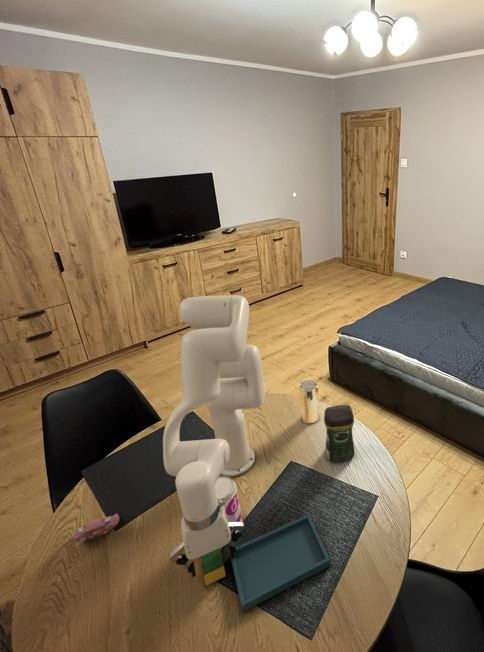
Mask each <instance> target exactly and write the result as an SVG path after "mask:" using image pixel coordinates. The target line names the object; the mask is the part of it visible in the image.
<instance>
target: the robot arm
mask: <svg viewBox="0 0 484 652" xmlns="http://www.w3.org/2000/svg"><path fill="white" fill-rule="evenodd" d="M249 305H250V304H249V301H248V300H247V298H246V297H245V296H243V295H240V294H239V295H238V294H229V295H227V294H226V295H203V296H191V297H187V298H185V299H182V301H181V302H180V304H179V314H180V318H181V319H182V321H183V322H184V323H185V324H186V325H187V326H188V327H191V328H192V329H193V330H189V331H188V332H186V333H185V334H184V335H183V336H182V337H181V340H180V363H181V389H182V391H181V392H182V393H181V394H182V395H181V399H180V401H179V402H178V403H177V405H176V406H175V408H174V409H173V410H172V412H171V413H170V415H169V417H168V418H167V421H166V423H165V426H164V429H163V434H162V435H163V436H162V457H163V467H164V470H165V472H166V473H167V474H168V475H169V476H172V477H175V481H174V483H175V490H176V492H177V497H178V500H179V504H180V508H181V512H182V516H183V517H182V518H181V523H180V526H181V528H180V529H181V536H182V542H180V543H179V544H178V545H176V547H175V548H173V550H172V551H170V553H168V556H169V558H168V559H169V561H170V562H173V563H176V565H180V566H184V568H186V569H187V573H188V574H190V573H191V576H192V578H195V577H196V576H197V574H196V566H195V561H194V560H196V559H198V558H201V556H203V555H205V554H207V553H210V552H212V551H214V550H216V549H218V548H220V549H221V548H223V547H225V546H228V552H229V551H230V553H229V556H230V555H231V558H230V560H231V559H233V558H234V553H233V552H235V551H236V545H237V541H238V540H239V539H240V537H242V533H243V531H244V530H245V527H246V526H245V523H244V521H242V522H228V519H227V515H226V512H225V510H224V507H223V505H225V504H226V503H225V499H220V500H219V499H218V498H217V493H216V488H215V483H216V481H217V480H218V478H219V477H221V475H222V476H224V477H236V476H240V475H243V474H244V473H246V472H247V471H249V469H251V468H252V466H253V465H254V463H255V459H256V456H255V451H254V450H253V448H252V447H250V446H249V442H248V441H249V440H248V433H247V427H246V418H245V415H244V412H243V411H242V410H251V409H253V410H254V409H257V408H260V407H262V405H263V404H264V402H265V399H266V398H265V397H266V388H265V381H264V380H265V378H264V370H263V361H262V354H261V352H260V350H259V347H257V346H256V345H254V344H252V343H251V344H250V343H247V338H248V329H249V321H250V306H249ZM204 405H206V407H207V410H208V412H209V414H210V418H211V422H212V427H213V433H214V438H208V439H207V438H206V439H196V440H184V441H183V440H180V429H181V426H182V425H181V424H182V423H183V420H184V419H185V417H186V416H187V415H188V414H189V413H191V412H192V411H194V410H195V409H197V408H199V407H201V406H204ZM230 530H235V531H234V532H233V533H232V532H230Z"/></svg>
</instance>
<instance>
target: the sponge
mask: <svg viewBox="0 0 484 652" xmlns="http://www.w3.org/2000/svg"><path fill="white" fill-rule="evenodd" d="M200 563H201V569H202V575H203V579H204V584H205V586H208V585H210V584H213V583H214V582H217V581H219V580H221V579H223V578H226V570H225V565H224V560H223V555H222V550H221V547H220V548H218V549H216V550H214V551H212V552H210V553H207V554H205V555H203V556H201V557H200Z"/></svg>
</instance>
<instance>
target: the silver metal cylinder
mask: <svg viewBox="0 0 484 652" xmlns="http://www.w3.org/2000/svg"><path fill="white" fill-rule="evenodd" d="M298 394H299V402H300V406H301V408H302V415H301V416H302V417H301V419H302V422H304V423H306V424H314V423H316V422H317V421H318V420H319V414H318V404H319V388H318V383H317V381H315V380H312V379H307V380H303V381H302V382H300V384H299V393H298Z"/></svg>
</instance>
